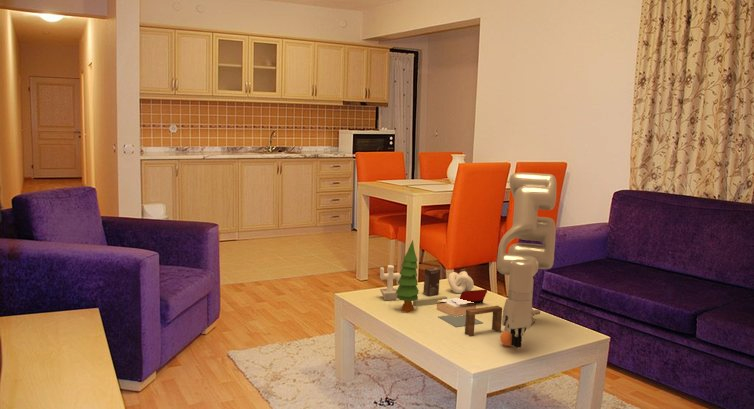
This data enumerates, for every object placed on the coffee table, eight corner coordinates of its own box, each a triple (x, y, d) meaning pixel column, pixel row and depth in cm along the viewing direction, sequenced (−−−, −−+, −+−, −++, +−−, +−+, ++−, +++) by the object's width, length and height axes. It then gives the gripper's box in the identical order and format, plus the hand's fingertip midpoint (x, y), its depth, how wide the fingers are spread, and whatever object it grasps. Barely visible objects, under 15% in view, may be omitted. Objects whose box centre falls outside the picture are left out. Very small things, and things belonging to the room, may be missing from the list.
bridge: (464, 333, 226) (466, 309, 225) (496, 328, 233) (497, 305, 232) (469, 336, 224) (470, 312, 223) (500, 331, 230) (502, 307, 229)
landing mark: (464, 313, 250) (464, 313, 250) (483, 323, 239) (483, 322, 239) (437, 317, 244) (437, 316, 244) (455, 327, 233) (455, 326, 233)
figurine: (402, 300, 265) (403, 267, 263) (381, 301, 263) (382, 268, 261) (397, 295, 272) (398, 263, 270) (377, 296, 270) (378, 264, 268)
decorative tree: (422, 310, 252) (425, 240, 248) (407, 315, 245) (410, 242, 241) (405, 305, 259) (408, 236, 255) (390, 309, 252) (392, 239, 248)
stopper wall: (444, 301, 266) (444, 295, 266) (446, 302, 265) (447, 297, 264) (412, 305, 259) (413, 299, 259) (415, 306, 258) (415, 300, 257)
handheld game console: (474, 298, 273) (475, 282, 272) (487, 306, 263) (488, 289, 262) (450, 300, 268) (450, 284, 267) (461, 308, 258) (462, 291, 257)
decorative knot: (457, 296, 275) (458, 277, 274) (440, 289, 285) (441, 271, 283) (476, 293, 281) (477, 274, 280) (459, 286, 291) (460, 268, 290)
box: (429, 296, 273) (430, 270, 271) (423, 294, 276) (424, 268, 275) (439, 295, 276) (440, 269, 274) (433, 292, 280) (434, 267, 278)
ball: (510, 344, 218) (508, 329, 219) (520, 345, 213) (518, 329, 214) (498, 347, 216) (496, 331, 217) (507, 347, 211) (505, 331, 212)
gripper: (528, 290, 216) (525, 339, 218) (495, 294, 209) (492, 345, 211) (543, 296, 209) (539, 346, 212) (509, 300, 202) (506, 353, 205)
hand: (516, 346), depth 211 cm, fingers closed
